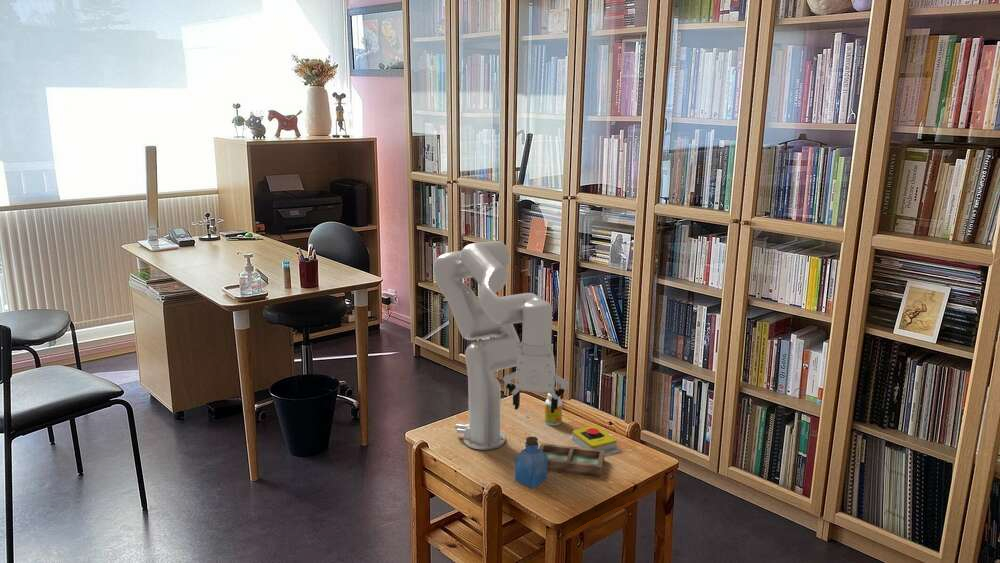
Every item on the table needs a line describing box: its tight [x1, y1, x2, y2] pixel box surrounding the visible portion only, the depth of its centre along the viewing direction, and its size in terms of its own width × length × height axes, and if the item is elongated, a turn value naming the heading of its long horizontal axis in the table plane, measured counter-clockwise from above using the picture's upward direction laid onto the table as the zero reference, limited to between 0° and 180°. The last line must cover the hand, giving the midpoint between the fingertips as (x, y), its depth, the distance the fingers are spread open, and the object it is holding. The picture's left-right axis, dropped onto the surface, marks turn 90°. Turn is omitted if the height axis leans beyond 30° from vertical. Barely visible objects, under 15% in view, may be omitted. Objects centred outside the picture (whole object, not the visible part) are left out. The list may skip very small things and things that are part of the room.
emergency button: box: [569, 425, 621, 457], centre depth 215 cm, size 9×4×15 cm
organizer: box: [538, 442, 605, 478], centre depth 203 cm, size 18×10×3 cm, turn 77°
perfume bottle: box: [514, 436, 548, 489], centre depth 194 cm, size 6×6×12 cm
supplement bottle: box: [544, 393, 563, 426], centre depth 229 cm, size 5×5×10 cm
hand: (535, 409), depth 190 cm, fingers open, 9 cm apart
